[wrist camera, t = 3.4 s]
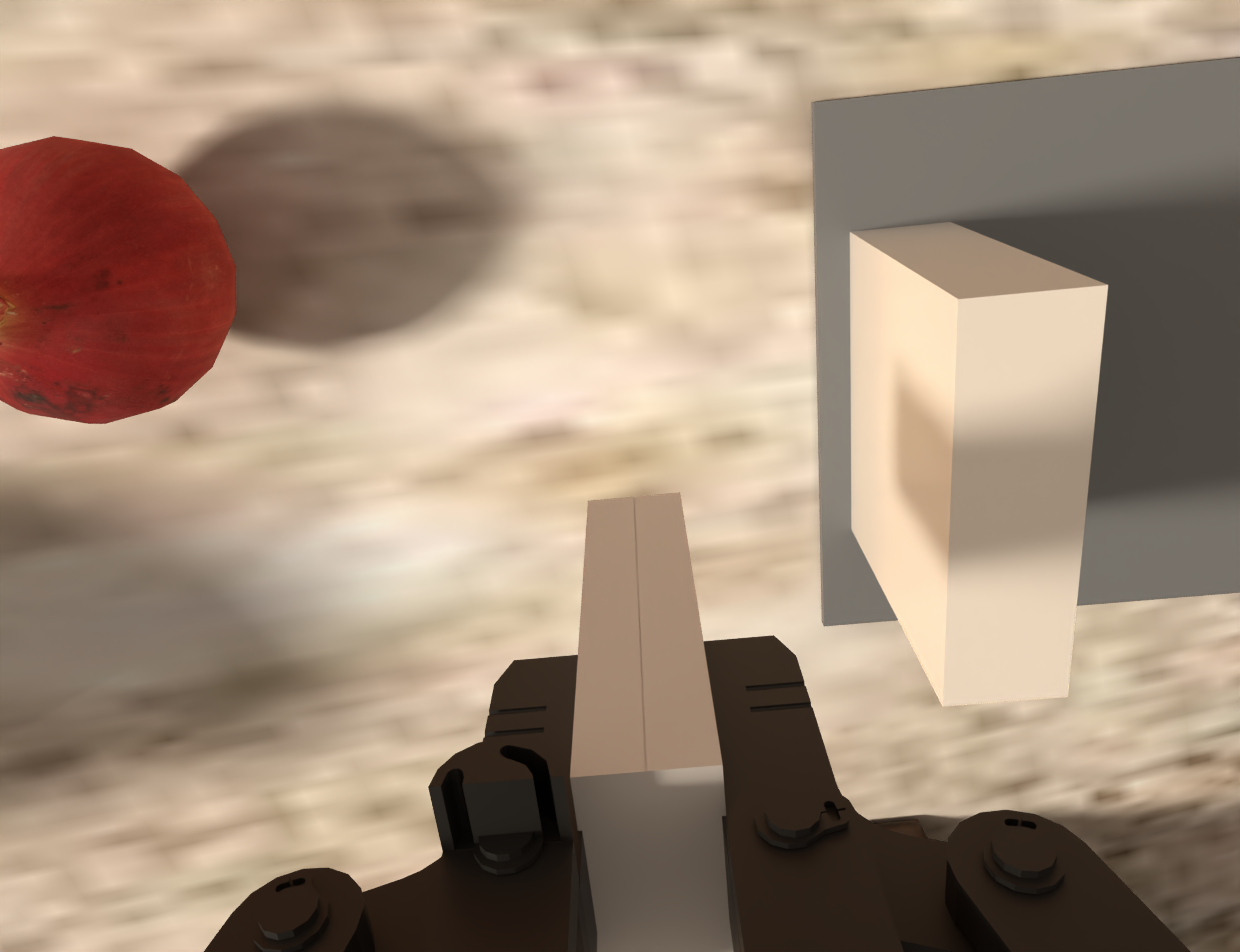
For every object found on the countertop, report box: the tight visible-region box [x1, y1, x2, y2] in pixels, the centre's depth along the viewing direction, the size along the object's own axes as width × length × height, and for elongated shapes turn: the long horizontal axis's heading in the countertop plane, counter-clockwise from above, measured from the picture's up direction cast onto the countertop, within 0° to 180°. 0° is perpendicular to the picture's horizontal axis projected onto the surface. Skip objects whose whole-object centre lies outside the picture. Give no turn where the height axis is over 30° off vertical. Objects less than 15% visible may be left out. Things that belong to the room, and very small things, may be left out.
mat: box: [812, 57, 1240, 626], centre depth 24 cm, size 12×14×1 cm
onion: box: [0, 136, 236, 424], centre depth 20 cm, size 6×6×8 cm
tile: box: [850, 222, 1108, 706], centre depth 20 cm, size 2×8×8 cm, turn 6°
